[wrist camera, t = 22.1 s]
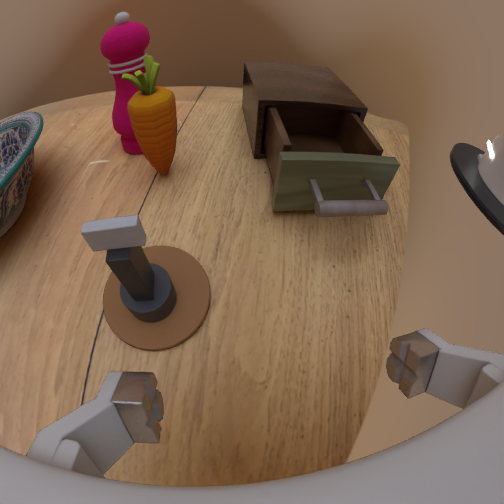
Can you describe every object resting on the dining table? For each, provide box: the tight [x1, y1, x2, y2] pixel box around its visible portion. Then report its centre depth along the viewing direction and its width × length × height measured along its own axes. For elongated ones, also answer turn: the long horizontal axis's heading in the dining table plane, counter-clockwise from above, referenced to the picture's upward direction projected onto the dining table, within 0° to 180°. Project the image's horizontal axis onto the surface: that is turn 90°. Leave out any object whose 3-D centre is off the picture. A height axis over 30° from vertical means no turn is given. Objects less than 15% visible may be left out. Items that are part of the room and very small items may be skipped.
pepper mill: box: [101, 12, 150, 154], centre depth 27 cm, size 7×7×20 cm
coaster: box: [103, 246, 210, 351], centre depth 23 cm, size 10×10×1 cm
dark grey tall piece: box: [81, 215, 177, 323], centre depth 18 cm, size 4×4×10 cm
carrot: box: [122, 56, 177, 175], centre depth 26 cm, size 5×5×15 cm
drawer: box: [262, 106, 400, 217], centre depth 29 cm, size 18×12×7 cm
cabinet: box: [242, 62, 368, 159], centre depth 35 cm, size 15×14×9 cm
